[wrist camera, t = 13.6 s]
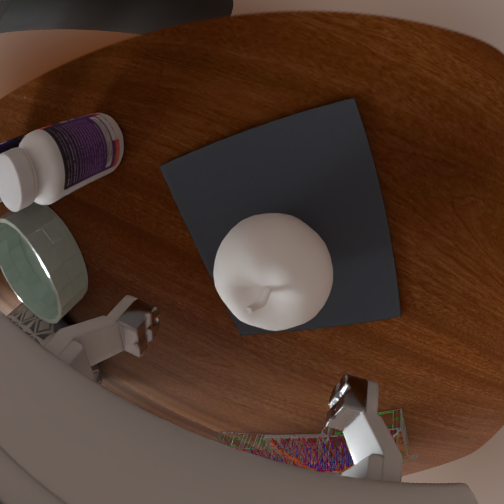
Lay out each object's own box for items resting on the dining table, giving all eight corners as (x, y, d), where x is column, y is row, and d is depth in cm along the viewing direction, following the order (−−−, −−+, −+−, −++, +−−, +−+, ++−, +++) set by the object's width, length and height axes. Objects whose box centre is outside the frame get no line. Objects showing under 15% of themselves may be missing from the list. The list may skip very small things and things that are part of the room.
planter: (129, 374, 39) (71, 458, 26) (85, 381, 49) (41, 440, 36) (42, 273, 34) (-37, 346, 21) (21, 307, 44) (-33, 360, 31)
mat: (162, 164, 21) (159, 166, 21) (354, 97, 15) (354, 97, 15) (242, 331, 27) (240, 335, 27) (400, 312, 21) (401, 316, 21)
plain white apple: (330, 188, 18) (317, 252, 11) (340, 284, 21) (329, 372, 15) (226, 200, 20) (165, 260, 14) (249, 286, 24) (209, 363, 17)
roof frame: (245, 459, 45) (236, 483, 41) (198, 417, 40) (184, 444, 36) (419, 452, 31) (418, 482, 27) (413, 403, 26) (413, 444, 22)
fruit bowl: (8, 218, 32) (-17, 235, 28) (48, 182, 26) (12, 201, 22) (54, 302, 37) (33, 323, 33) (107, 295, 31) (80, 323, 27)
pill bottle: (100, 98, 20) (-2, 125, 12) (137, 143, 21) (35, 187, 13) (73, 143, 22) (-15, 181, 14) (105, 185, 24) (19, 237, 16)
